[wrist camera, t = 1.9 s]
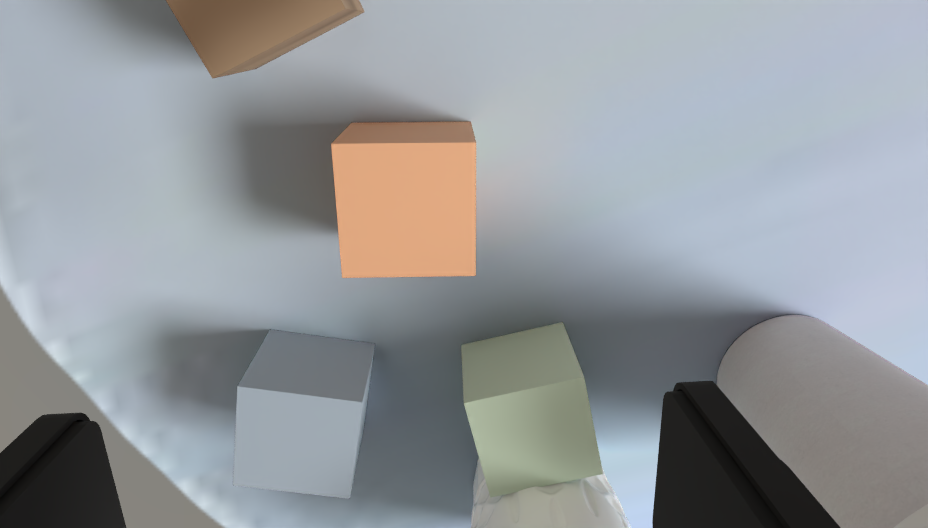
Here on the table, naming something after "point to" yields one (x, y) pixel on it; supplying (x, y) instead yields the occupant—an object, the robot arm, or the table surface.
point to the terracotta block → (406, 199)
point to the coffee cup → (835, 419)
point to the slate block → (302, 414)
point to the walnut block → (255, 28)
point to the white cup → (549, 505)
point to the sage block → (529, 410)
